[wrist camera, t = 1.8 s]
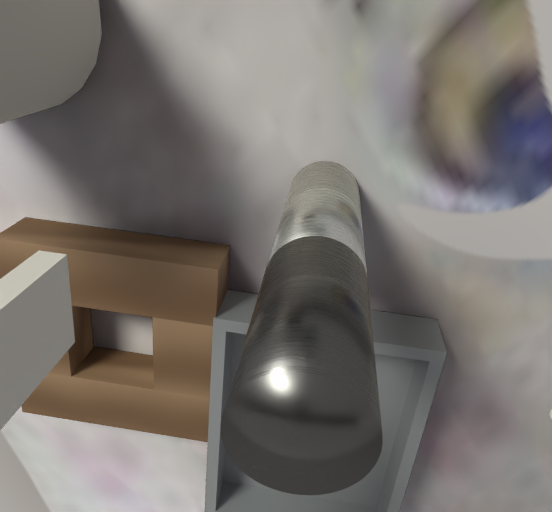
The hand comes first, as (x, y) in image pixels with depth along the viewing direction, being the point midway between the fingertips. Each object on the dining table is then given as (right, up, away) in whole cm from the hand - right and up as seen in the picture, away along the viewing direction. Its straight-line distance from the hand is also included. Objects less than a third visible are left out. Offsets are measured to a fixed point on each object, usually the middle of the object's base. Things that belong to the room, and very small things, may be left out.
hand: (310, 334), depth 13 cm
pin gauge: (+1, +5, +9) cm, 10 cm away
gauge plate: (-8, -1, +13) cm, 15 cm away
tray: (+1, -6, +14) cm, 15 cm away
